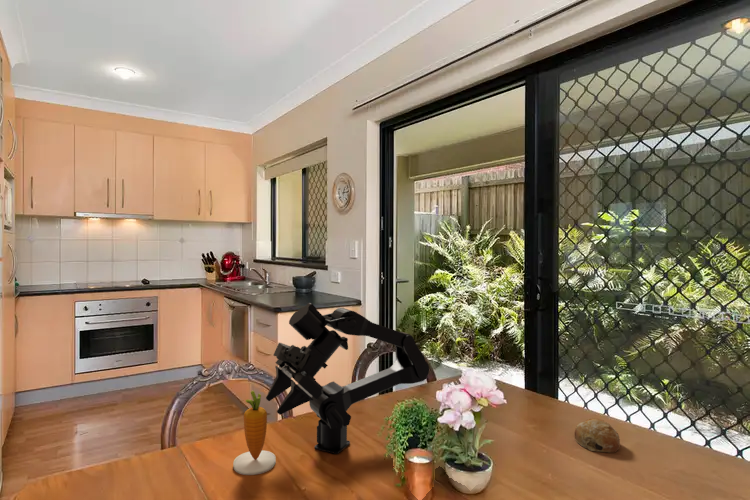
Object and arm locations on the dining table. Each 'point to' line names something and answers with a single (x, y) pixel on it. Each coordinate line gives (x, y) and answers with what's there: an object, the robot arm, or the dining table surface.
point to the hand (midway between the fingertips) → (272, 406)
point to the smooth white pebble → (254, 463)
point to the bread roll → (597, 436)
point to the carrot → (255, 426)
